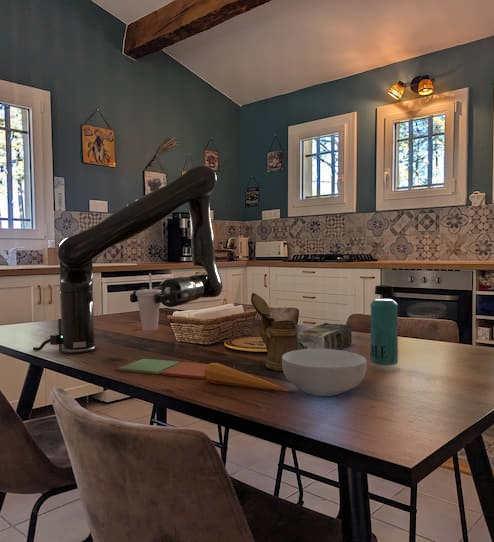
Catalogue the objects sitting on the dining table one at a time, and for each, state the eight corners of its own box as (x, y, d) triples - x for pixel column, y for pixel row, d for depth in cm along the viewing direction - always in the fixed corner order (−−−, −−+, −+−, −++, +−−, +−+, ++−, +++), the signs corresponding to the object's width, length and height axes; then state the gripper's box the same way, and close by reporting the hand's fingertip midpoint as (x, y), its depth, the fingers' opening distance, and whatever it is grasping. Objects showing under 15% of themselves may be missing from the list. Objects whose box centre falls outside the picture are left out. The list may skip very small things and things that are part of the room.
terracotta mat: (160, 374, 119) (160, 372, 119) (183, 364, 129) (183, 361, 129) (202, 379, 114) (202, 376, 114) (223, 367, 124) (223, 365, 124)
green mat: (118, 370, 124) (118, 367, 124) (143, 360, 134) (143, 358, 134) (157, 374, 119) (156, 371, 119) (180, 363, 129) (180, 361, 129)
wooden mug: (261, 359, 133) (260, 290, 132) (309, 365, 126) (308, 292, 125) (243, 366, 126) (242, 293, 125) (292, 373, 118) (291, 296, 117)
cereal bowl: (310, 408, 93) (309, 370, 92) (267, 385, 108) (267, 353, 108) (384, 396, 100) (384, 360, 99) (334, 376, 115) (334, 345, 114)
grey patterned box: (324, 357, 134) (323, 333, 134) (291, 353, 140) (290, 331, 139) (353, 345, 150) (353, 324, 150) (322, 342, 156) (322, 322, 156)
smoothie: (157, 331, 122) (155, 274, 122) (132, 331, 124) (130, 274, 123) (166, 327, 129) (164, 272, 128) (142, 327, 130) (140, 272, 129)
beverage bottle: (398, 366, 123) (398, 284, 122) (398, 373, 117) (398, 286, 116) (370, 364, 125) (370, 283, 124) (368, 371, 119) (368, 286, 118)
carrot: (202, 385, 112) (199, 368, 110) (213, 373, 115) (210, 356, 113) (286, 406, 102) (285, 389, 100) (295, 393, 106) (293, 375, 104)
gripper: (154, 277, 141) (118, 282, 126) (200, 278, 136) (168, 283, 120) (155, 304, 142) (119, 312, 127) (201, 306, 136) (169, 315, 121)
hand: (143, 298), depth 124 cm, fingers closed on smoothie, 6 cm apart
